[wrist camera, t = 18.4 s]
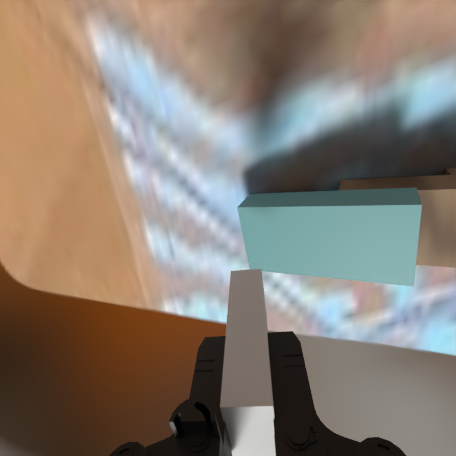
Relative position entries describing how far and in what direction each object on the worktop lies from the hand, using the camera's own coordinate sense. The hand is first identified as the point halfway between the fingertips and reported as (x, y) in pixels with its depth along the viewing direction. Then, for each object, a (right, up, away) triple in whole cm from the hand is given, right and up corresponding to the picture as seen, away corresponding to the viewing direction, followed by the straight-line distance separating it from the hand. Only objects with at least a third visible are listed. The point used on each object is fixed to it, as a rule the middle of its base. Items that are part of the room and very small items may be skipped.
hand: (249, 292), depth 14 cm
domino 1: (+1, +3, +6) cm, 7 cm away
